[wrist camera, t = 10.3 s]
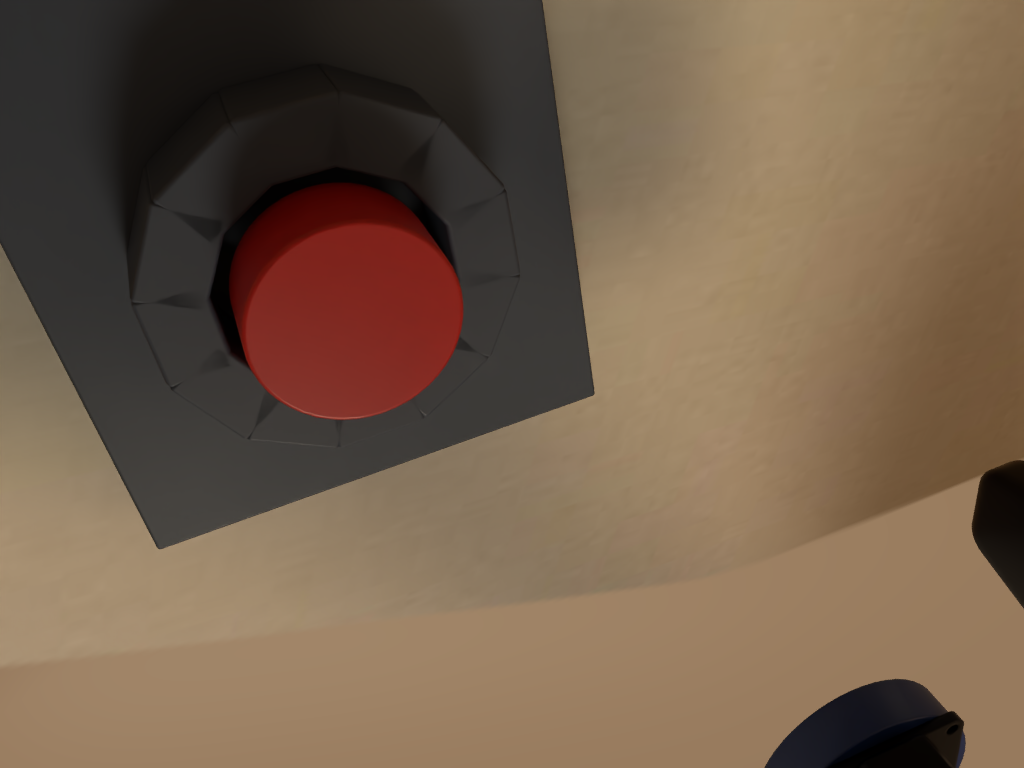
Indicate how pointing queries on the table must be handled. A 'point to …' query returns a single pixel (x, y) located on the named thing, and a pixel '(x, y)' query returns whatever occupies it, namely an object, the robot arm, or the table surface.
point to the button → (343, 301)
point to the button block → (250, 191)
